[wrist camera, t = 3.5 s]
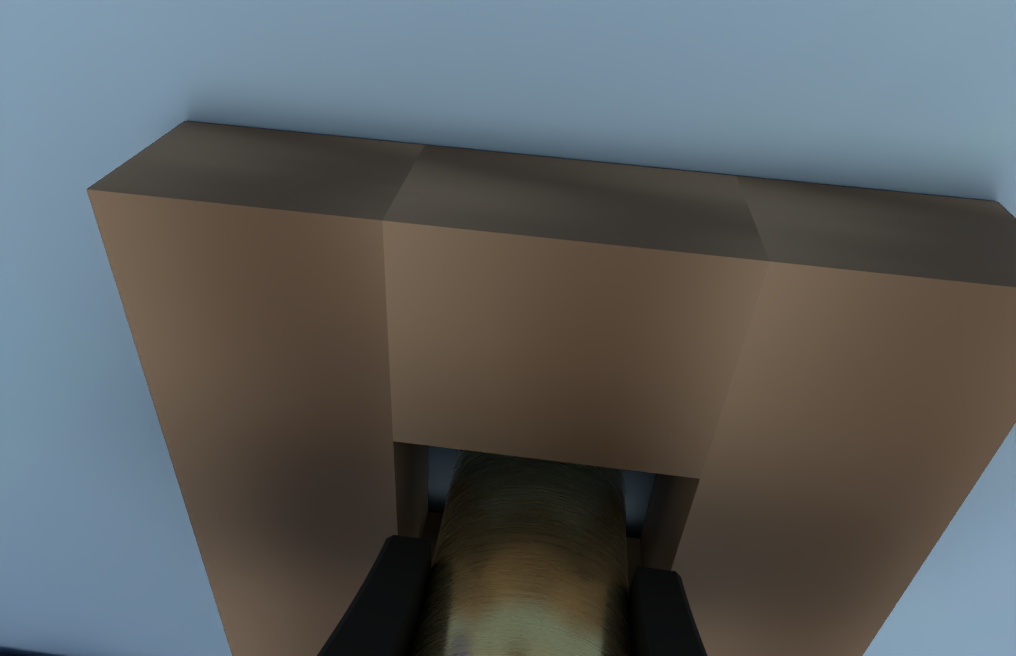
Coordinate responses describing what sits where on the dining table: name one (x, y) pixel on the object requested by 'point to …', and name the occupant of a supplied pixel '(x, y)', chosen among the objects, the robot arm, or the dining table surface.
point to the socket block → (560, 365)
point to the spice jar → (528, 561)
